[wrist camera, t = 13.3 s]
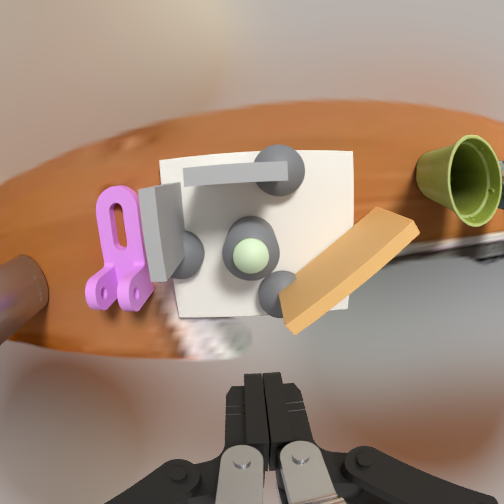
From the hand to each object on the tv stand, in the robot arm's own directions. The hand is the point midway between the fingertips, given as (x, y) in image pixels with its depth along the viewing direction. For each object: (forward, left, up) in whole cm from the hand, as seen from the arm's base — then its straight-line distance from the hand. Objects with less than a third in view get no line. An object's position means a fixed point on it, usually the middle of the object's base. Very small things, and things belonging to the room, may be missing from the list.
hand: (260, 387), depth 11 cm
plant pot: (+23, +8, -21) cm, 32 cm away
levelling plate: (+1, +1, -21) cm, 21 cm away
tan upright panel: (+7, -1, -19) cm, 21 cm away
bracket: (-15, +2, -21) cm, 26 cm away
